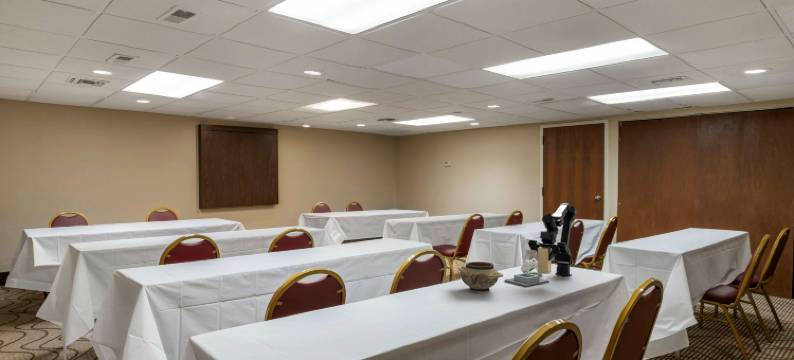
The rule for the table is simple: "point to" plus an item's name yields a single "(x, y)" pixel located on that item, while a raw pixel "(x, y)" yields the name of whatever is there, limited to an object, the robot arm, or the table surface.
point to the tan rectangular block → (544, 260)
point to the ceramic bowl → (479, 276)
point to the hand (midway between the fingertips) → (543, 259)
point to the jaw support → (530, 266)
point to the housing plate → (526, 280)
